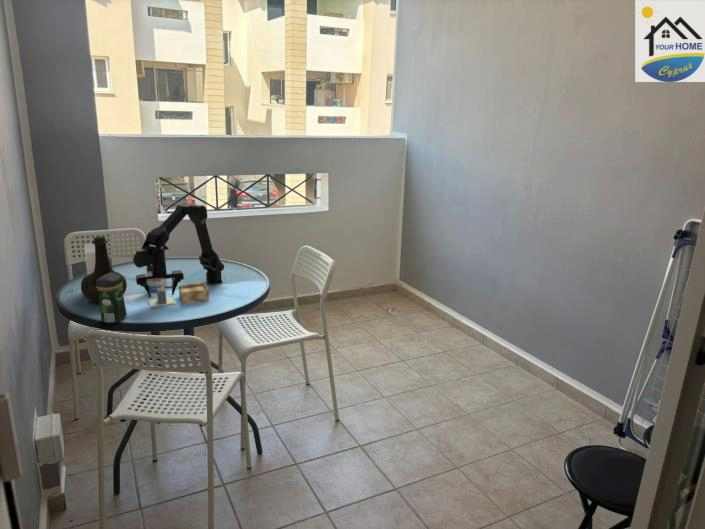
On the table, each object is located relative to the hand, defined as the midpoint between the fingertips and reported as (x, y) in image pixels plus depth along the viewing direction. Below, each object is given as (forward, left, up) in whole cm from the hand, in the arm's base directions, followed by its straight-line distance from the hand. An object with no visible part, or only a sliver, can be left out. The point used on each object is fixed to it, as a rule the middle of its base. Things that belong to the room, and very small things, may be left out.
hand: (161, 296), depth 221 cm
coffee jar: (+20, +11, -3) cm, 23 cm away
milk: (+25, -27, -3) cm, 37 cm away
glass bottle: (+22, -13, -3) cm, 25 cm away
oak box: (-13, 0, -3) cm, 14 cm away
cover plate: (0, 0, -3) cm, 3 cm away
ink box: (0, -19, -3) cm, 19 cm away
